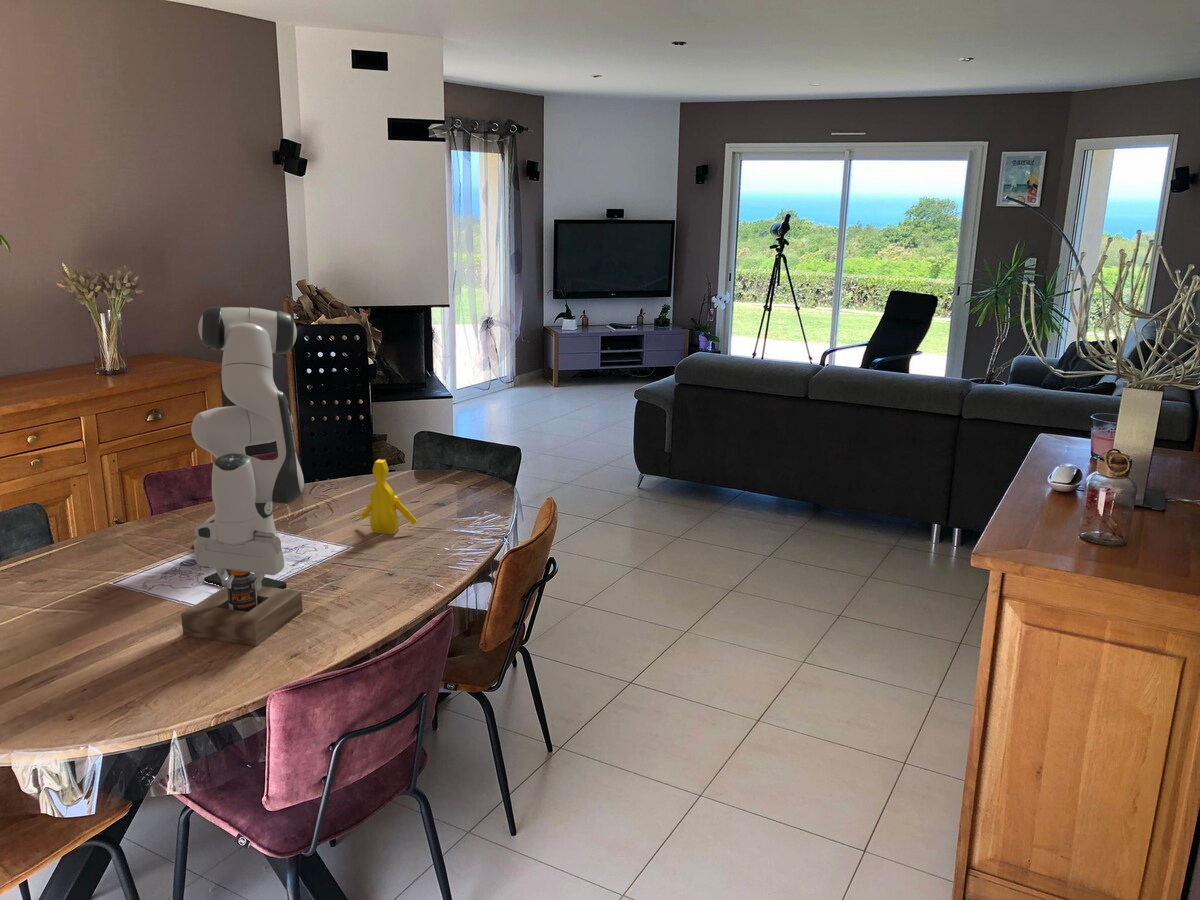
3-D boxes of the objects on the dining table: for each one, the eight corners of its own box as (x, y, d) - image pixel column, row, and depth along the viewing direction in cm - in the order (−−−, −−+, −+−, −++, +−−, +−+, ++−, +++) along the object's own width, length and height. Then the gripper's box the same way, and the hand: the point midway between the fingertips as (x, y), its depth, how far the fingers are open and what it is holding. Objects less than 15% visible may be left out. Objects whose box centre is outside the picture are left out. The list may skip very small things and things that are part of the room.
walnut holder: (183, 635, 199) (180, 613, 198) (234, 601, 216) (232, 582, 215) (256, 646, 195) (254, 624, 194) (302, 611, 212) (301, 591, 211)
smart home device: (228, 566, 233) (288, 582, 225) (229, 573, 234) (288, 588, 225) (202, 577, 226) (262, 594, 218) (202, 584, 227) (262, 600, 218)
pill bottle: (231, 621, 201) (227, 573, 198) (228, 610, 206) (223, 563, 203) (260, 616, 204) (256, 569, 201) (256, 606, 209) (252, 559, 206)
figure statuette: (420, 530, 266) (418, 457, 260) (409, 539, 259) (407, 464, 253) (363, 524, 269) (360, 452, 264) (351, 533, 262) (347, 459, 256)
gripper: (287, 529, 200) (291, 587, 204) (206, 519, 205) (211, 576, 209) (271, 538, 195) (275, 599, 198) (187, 528, 199) (193, 587, 203)
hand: (241, 587), depth 203 cm, fingers closed on pill bottle, 6 cm apart
